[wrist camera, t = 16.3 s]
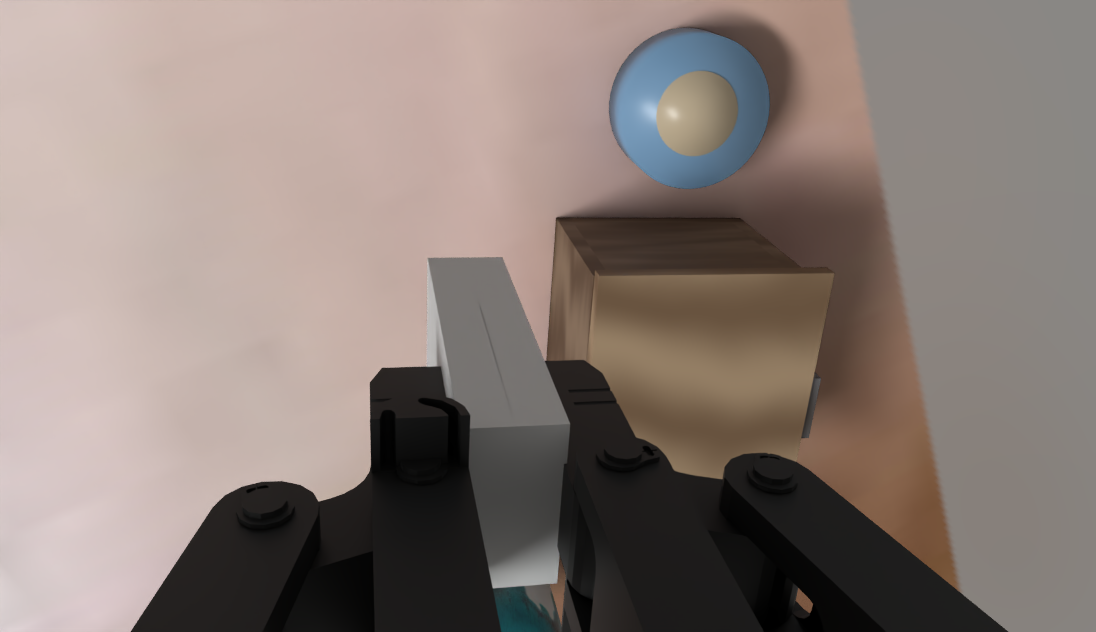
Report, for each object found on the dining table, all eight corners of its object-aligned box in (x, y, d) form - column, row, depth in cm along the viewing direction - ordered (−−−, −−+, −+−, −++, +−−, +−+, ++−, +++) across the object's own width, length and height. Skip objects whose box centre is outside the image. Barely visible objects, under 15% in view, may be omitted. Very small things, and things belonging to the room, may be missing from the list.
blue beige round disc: (615, 24, 46) (630, 30, 44) (759, 30, 48) (782, 37, 45) (602, 174, 50) (616, 188, 47) (737, 175, 51) (757, 190, 49)
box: (556, 217, 50) (593, 276, 42) (739, 218, 52) (808, 273, 44) (540, 446, 56) (570, 535, 48) (706, 438, 58) (761, 522, 50)
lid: (587, 257, 43) (599, 275, 41) (826, 256, 46) (849, 273, 43) (564, 525, 49) (574, 553, 47) (776, 511, 52) (793, 537, 50)
